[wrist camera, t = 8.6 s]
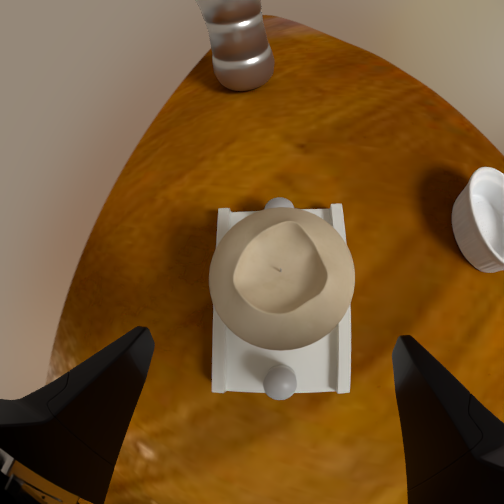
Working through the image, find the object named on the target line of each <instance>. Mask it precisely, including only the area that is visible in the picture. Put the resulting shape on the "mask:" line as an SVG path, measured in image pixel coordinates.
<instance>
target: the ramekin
mask: <svg viewBox="0 0 504 504" xmlns="http://www.w3.org/2000/svg"><path fill="white" fill-rule="evenodd" d="M452 227H453V232H454V236H455V239H456V241H457V244H458V246H459V248H460V250H461V252H462V253H463V255H464V256H465V258H466V259H467V260H468V261H469V262H470V263H471V264H472V265H473V266H474V267H475V268H477V269H478V270H480V271H482V272H487V273H490V272H491V273H492V272H497V271H500V270H504V174H503V173H501V172H500V171H498V170H496V169H494V168H490V167H482V168H479V169H477V170H476V171H475V172H474V173H473V174H472V176H471V178H470V180H469V182H468V184H467V186H466V187H465V188H464V190H463V191H462V192H461V193H460V195H459V196H458V198H457V199H456V201H455V203H454V205H453V209H452Z"/></svg>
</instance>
